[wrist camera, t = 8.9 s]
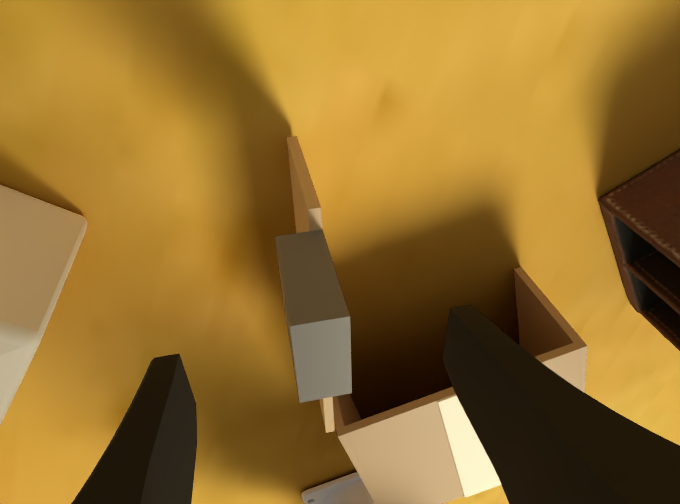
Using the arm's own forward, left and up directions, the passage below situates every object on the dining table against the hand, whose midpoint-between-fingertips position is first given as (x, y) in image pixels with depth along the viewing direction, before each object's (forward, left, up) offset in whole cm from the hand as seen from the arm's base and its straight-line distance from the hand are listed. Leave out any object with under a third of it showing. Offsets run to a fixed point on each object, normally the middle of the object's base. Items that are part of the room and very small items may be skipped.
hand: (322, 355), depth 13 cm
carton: (-15, -4, -10) cm, 18 cm away
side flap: (-3, +1, -9) cm, 10 cm away
